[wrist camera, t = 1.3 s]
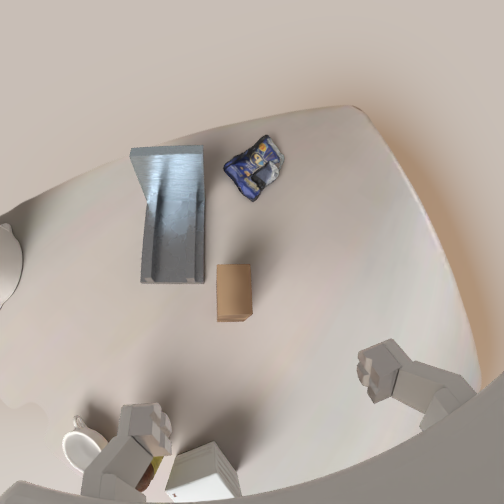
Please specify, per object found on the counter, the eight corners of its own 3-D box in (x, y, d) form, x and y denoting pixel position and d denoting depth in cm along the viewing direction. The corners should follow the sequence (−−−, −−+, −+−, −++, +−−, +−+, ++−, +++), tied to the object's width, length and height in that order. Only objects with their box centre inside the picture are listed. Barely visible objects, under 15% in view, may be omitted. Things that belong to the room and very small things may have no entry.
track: (142, 283, 42) (113, 257, 29) (149, 197, 47) (131, 148, 34) (203, 283, 44) (199, 257, 31) (204, 196, 49) (203, 145, 35)
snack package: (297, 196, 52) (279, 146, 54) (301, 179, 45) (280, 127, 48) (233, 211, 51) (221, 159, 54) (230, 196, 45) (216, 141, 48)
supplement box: (198, 487, 33) (194, 528, 21) (174, 455, 34) (162, 490, 22) (238, 472, 34) (247, 511, 23) (215, 439, 36) (216, 472, 24)
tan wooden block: (217, 321, 42) (217, 314, 32) (216, 283, 44) (216, 264, 34) (243, 321, 43) (252, 313, 32) (241, 283, 45) (250, 264, 34)
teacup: (122, 463, 32) (112, 475, 27) (84, 463, 31) (72, 473, 26) (103, 410, 35) (90, 417, 30) (66, 412, 33) (51, 418, 28)
